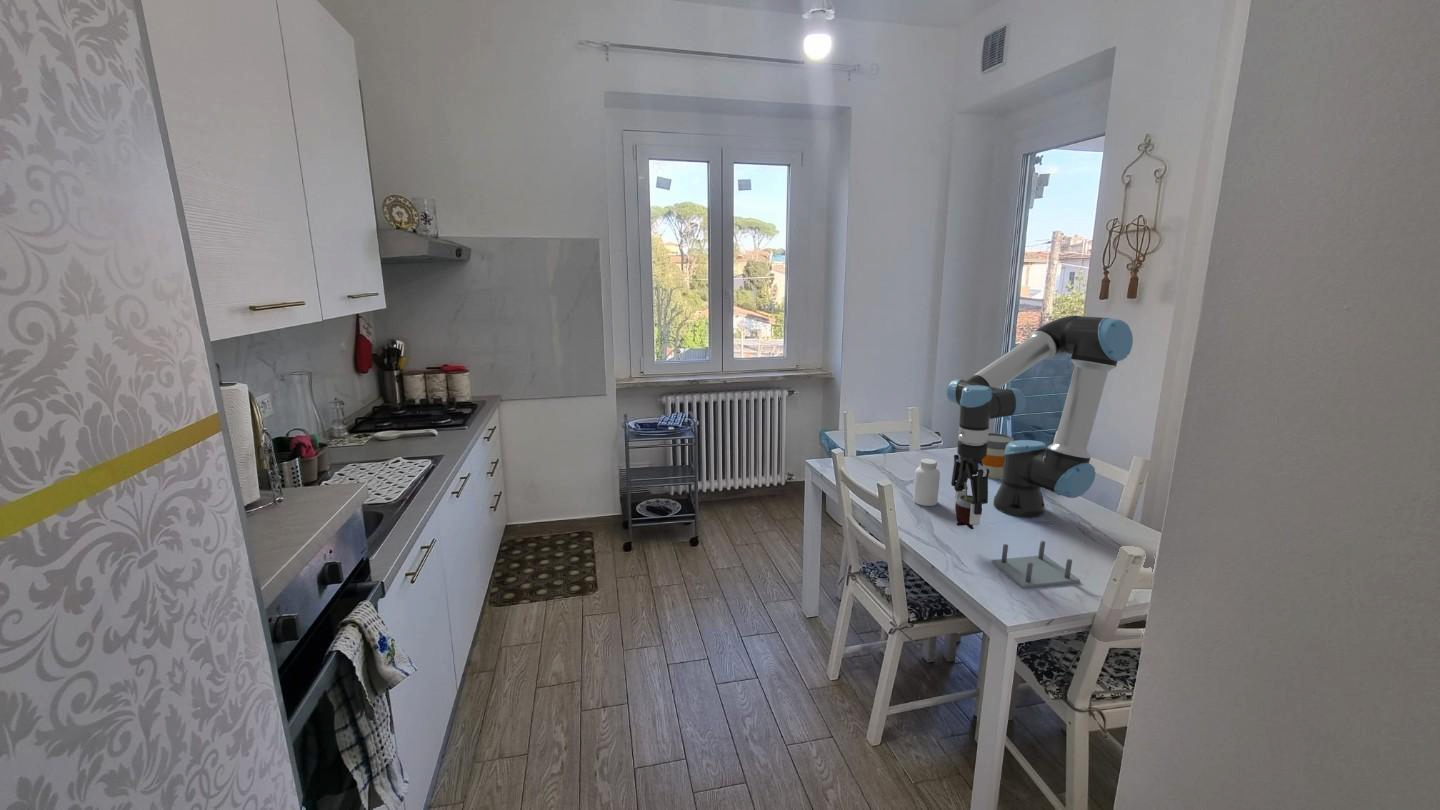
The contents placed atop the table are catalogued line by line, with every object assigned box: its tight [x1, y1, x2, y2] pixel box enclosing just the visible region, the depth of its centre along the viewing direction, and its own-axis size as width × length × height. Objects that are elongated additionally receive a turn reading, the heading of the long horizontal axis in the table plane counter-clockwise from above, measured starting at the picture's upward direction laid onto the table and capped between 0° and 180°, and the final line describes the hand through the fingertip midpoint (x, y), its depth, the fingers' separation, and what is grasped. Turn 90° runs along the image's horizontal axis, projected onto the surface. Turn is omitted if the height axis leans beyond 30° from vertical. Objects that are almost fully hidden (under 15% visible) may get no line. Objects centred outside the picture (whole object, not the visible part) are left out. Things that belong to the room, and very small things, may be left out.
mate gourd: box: [954, 482, 983, 530], centre depth 163 cm, size 8×8×15 cm
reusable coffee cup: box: [982, 432, 1015, 480], centre depth 220 cm, size 13×13×15 cm
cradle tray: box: [991, 540, 1081, 589], centre depth 152 cm, size 16×13×6 cm
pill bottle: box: [912, 458, 941, 507], centre depth 196 cm, size 8×8×15 cm
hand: (966, 517), depth 164 cm, fingers closed on mate gourd, 7 cm apart
